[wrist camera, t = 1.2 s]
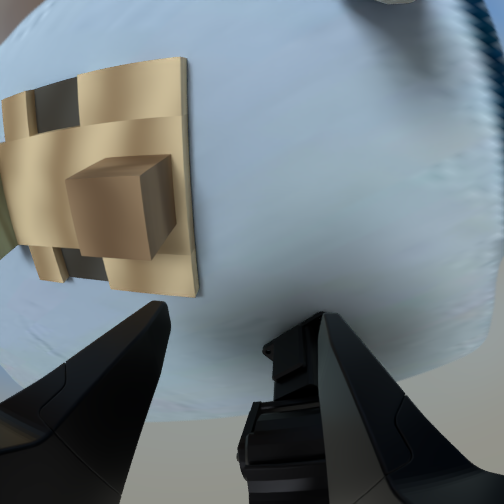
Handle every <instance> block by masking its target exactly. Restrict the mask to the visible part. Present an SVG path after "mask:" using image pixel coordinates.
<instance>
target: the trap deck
mask: <svg viewBox="0 0 504 504" xmlns="http://www.w3.org/2000/svg"><path fill="white" fill-rule="evenodd" d="M2 113H3V124H4V133H5V141H6V142H2V143H0V260H1V259H2V258H3V257H4V256H5V255H6V254H8V253H9V252H10V251H11V250H12V249H14V248H15V247H16V246H17V245H29V248H30V252H31V255H32V258H33V261H34V264H35V267H36V270H37V272H38V275H39V278H40V280H46V281H53V282H60V283H64V282H65V281H66V280H67V279H68V277H77V278H85V279H94V280H103V281H109V284H110V288H111V289H114V290H123V291H132V292H141V293H150V294H160V295H171V296H181V297H193V298H195V297H196V295H197V292H198V289H199V282H198V272H197V262H196V251H195V239H194V227H193V213H192V199H191V183H190V165H189V144H188V116H187V58H183V57H173V58H165V59H157V60H150V61H143V62H137V63H131V64H125V65H120V66H115V67H110V68H105V69H100V70H96V71H92V72H88V73H84V74H80V75H77V77H74V78H71V79H67V80H63V81H60V82H56V83H53V84H50V85H47V86H43V87H40V88H37V89H34V90H28V91H24V92H21V93H19V94H16V95H13V96H11V97H8V98H6V99H3V100H2ZM160 154H171V163H172V177H173V189H174V201H175V212H176V222H177V224H176V226H175V227H174V229H173V230H172V231H171V233H170V234H169V236H168V237H167V239H166V240H165V242H164V243H163V244H162V246H161V247H160V249H159V250H158V252H157V253H156V255H155V256H154V258H153V259H152V261H145V260H131V259H117V258H103V257H90V256H81V252H80V248H79V244H78V240H77V236H76V232H75V228H74V224H73V219H72V215H71V210H70V205H69V200H68V195H67V190H66V184H65V179H67V178H69V177H71V176H72V175H74V174H76V173H78V172H80V171H81V170H83V169H85V168H87V167H89V166H91V165H93V164H95V163H96V162H98V161H100V160H102V159H104V158H109V157H123V156H139V155H160Z"/></svg>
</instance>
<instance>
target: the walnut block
mask: <svg viewBox="0 0 504 504" xmlns="http://www.w3.org/2000/svg"><path fill="white" fill-rule="evenodd" d="M65 184H66V190H67V195H68V200H69V205H70V210H71V215H72V219H73V224H74V228H75V232H76V236H77V240H78V244H79V248H80V252H81V256H90V257H103V258H117V259H131V260H145V261H152V259H153V258H154V256H155V255H156V253H157V252H158V250H159V249H160V247H161V246H162V244H163V243H164V242H165V240H166V239H167V237H168V236H169V234H170V233H171V231H172V230H173V229H174V227H175V226H176V224H177V222H176V212H175V201H174V189H173V177H172V163H171V154H160V155H139V156H123V157H109V158H104V159H102V160H100V161H98V162H96V163H95V164H93V165H91V166H89V167H87V168H85V169H83V170H81V171H80V172H78V173H76V174H74V175H72V176H71V177H69V178H67V179H65Z"/></svg>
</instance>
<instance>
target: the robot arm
mask: <svg viewBox="0 0 504 504" xmlns="http://www.w3.org/2000/svg"><path fill="white" fill-rule="evenodd" d="M319 318H322V319H319ZM170 331H171V321H170V316H169V311H168V306H167V304H166V302H164V301H151V302H149V303H148V304H147V305H145V306H144V307H142V308H141V309H139V310H138V311H136V312H135V313H134V314H132V315H131V316H129V317H128V318H126V319H125V320H124V321H122V322H121V323H119V324H118V325H117V326H115V327H114V328H112V329H111V330H109V331H108V332H107V333H105V334H104V335H102V336H101V337H99V338H98V339H97V340H95V341H94V342H92V343H91V344H90V345H88V346H87V347H85V348H84V349H83V350H81V351H80V352H78V353H77V354H76V355H74V356H73V357H71V358H70V359H69V360H67V361H66V363H63V364H61V365H60V366H59V367H57V368H56V369H54V370H53V371H52V372H50V373H49V374H47V375H46V376H44V377H43V378H41V379H40V380H38V381H36V382H35V383H33V384H32V385H30V386H28V387H27V388H25V389H23V390H22V391H20V392H18V393H16V394H15V395H13V396H11V397H10V398H8V399H6V400H5V401H3V402H1V403H0V504H119V503H120V499H121V494H122V492H123V489H124V485H125V482H126V479H127V475H128V472H129V469H130V465H131V462H132V459H133V456H134V453H135V450H136V446H137V443H138V440H139V437H140V434H141V431H142V428H143V425H144V422H145V419H146V416H147V413H148V410H149V407H150V404H151V401H152V398H153V395H154V392H155V389H156V387H157V384H158V381H159V378H160V375H161V371H162V366H163V362H164V357H165V353H166V348H167V344H168V340H169V335H170ZM267 350H270V351H267ZM262 353H263V354H264V355H265V356H266V357H268V358H269V359H270V360H272V361H273V371H272V380H274V381H275V382H274V400H273V401H270V402H261V401H260V402H253V405H252V408H251V411H250V412H249V415H248V418H247V421H246V424H245V427H244V430H243V433H242V436H241V439H240V442H239V445H238V453H237V461H239V463H240V469H241V472H242V475H243V477H244V479H245V480H246V481H247V483H248V491H249V504H504V475H500V474H496V473H492V472H488V471H485V470H483V469H480V468H479V467H477V466H475V465H474V464H473V463H471V462H470V461H469V460H468V459H467V458H466V457H465V456H463V455H462V454H461V453H460V452H459V451H458V450H457V449H456V448H455V447H454V446H453V445H452V444H451V443H450V442H449V441H448V440H447V439H446V438H445V437H444V436H443V435H442V434H441V433H440V432H439V431H438V430H437V429H436V428H435V427H434V426H433V425H432V424H431V423H430V422H429V421H428V420H427V419H426V417H425V416H424V415H423V414H422V413H421V412H420V410H419V409H418V408H417V407H416V406H415V405H414V403H413V402H412V401H411V400H410V398H409V397H408V396H407V395H405V393H404V391H403V390H402V389H401V388H400V386H399V385H398V384H397V383H396V382H395V380H394V379H393V378H392V377H391V375H390V374H389V373H388V372H387V371H386V369H385V368H384V367H383V366H382V365H381V363H380V362H379V361H378V360H377V359H376V357H375V356H374V355H373V354H372V353H371V351H370V350H369V349H368V348H367V347H366V346H365V344H364V343H363V342H362V341H361V340H360V338H359V337H358V336H357V335H356V334H355V332H354V331H353V330H352V329H351V328H350V327H349V325H348V324H347V323H346V322H345V321H344V320H343V318H342V317H341V316H340V315H339V314H338V313H325V312H318V313H317V314H315V315H314V316H312V317H310V318H309V319H307V320H306V321H304V322H302V323H301V324H299V325H297V326H295V327H294V328H292V329H291V330H289V331H287V332H286V333H284V334H282V335H281V336H279V337H277V338H276V339H275V340H273V341H271V342H270V343H268V344H266V345H265V346H264V347H263V350H262Z"/></svg>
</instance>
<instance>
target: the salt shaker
mask: <svg viewBox="0 0 504 504" xmlns="http://www.w3.org/2000/svg"><path fill="white" fill-rule="evenodd" d="M376 1H379V2H382V3H385V4H405V3H412V2H414V1H415V0H376Z"/></svg>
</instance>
